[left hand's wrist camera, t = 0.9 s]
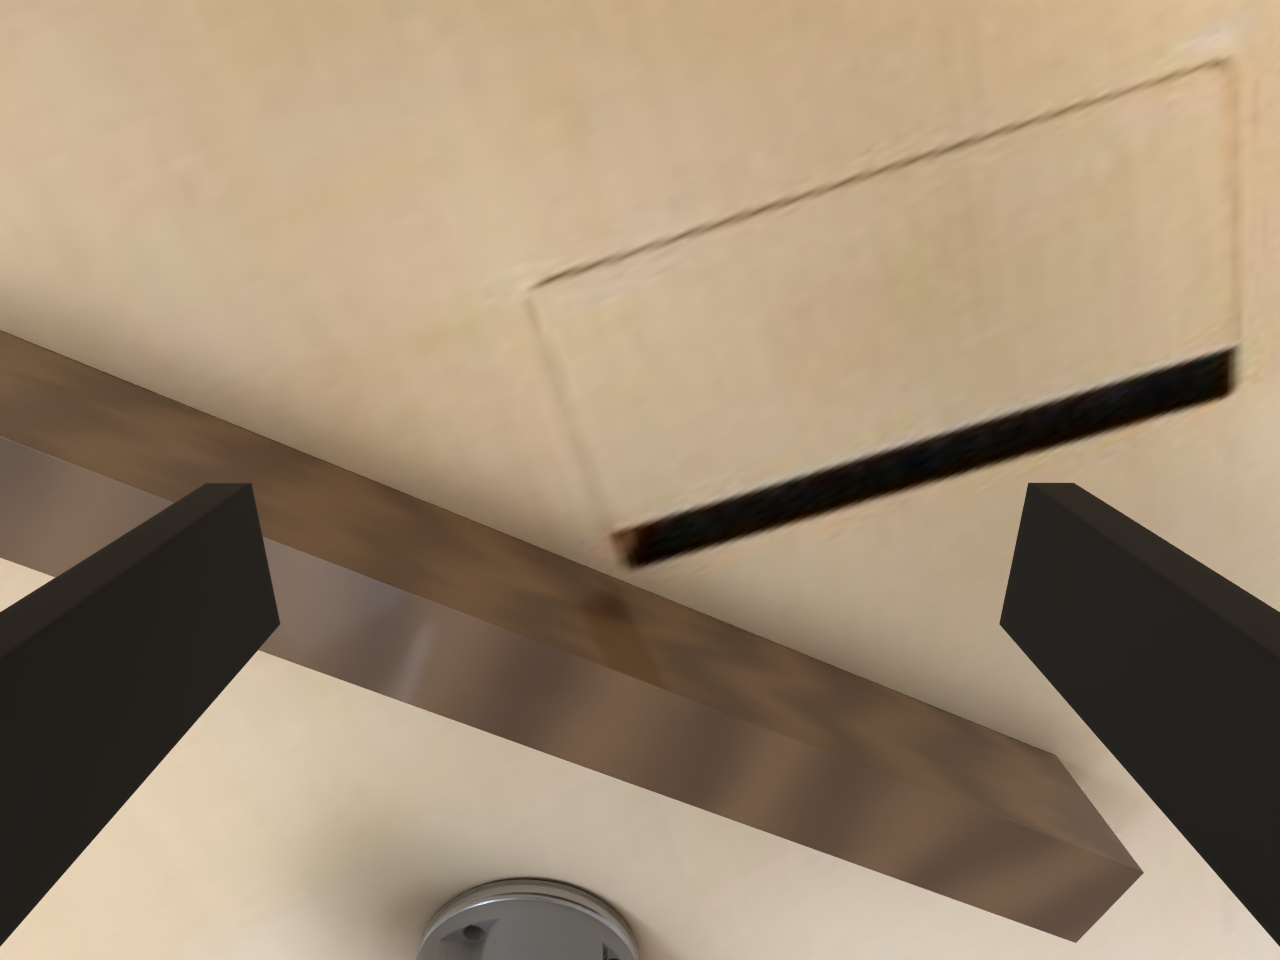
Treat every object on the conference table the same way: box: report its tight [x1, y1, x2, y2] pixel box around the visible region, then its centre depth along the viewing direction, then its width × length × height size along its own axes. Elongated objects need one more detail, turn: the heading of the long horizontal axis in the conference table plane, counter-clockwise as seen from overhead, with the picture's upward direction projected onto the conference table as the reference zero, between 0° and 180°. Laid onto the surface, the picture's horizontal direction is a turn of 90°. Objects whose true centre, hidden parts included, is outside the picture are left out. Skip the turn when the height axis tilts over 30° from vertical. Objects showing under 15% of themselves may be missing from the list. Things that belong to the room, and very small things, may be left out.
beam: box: [0, 331, 1143, 943], centre depth 36 cm, size 65×6×8 cm, turn 65°
